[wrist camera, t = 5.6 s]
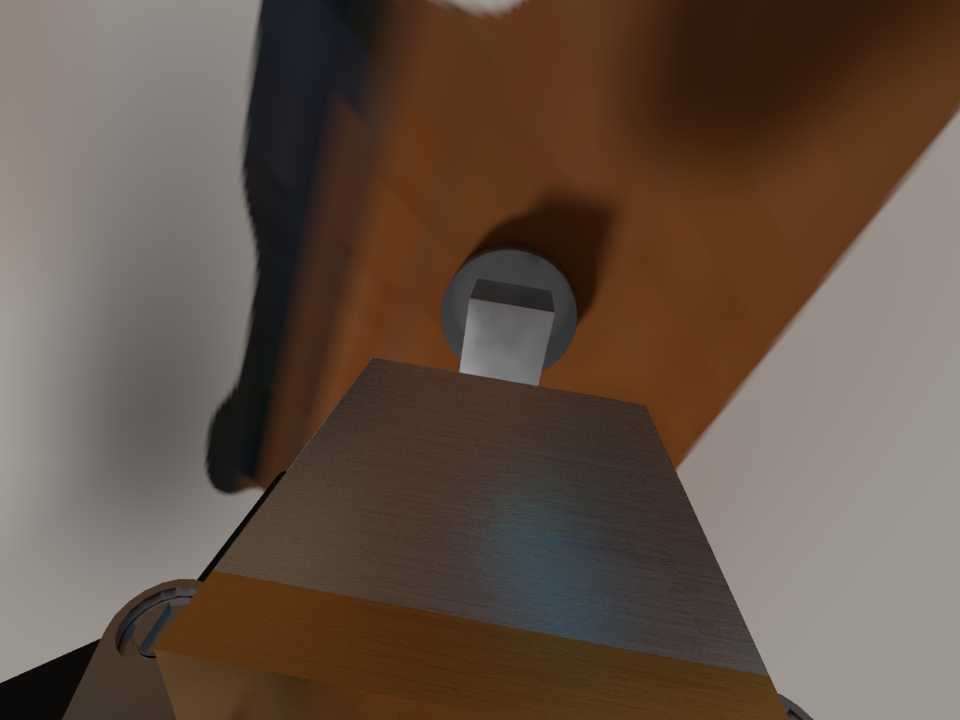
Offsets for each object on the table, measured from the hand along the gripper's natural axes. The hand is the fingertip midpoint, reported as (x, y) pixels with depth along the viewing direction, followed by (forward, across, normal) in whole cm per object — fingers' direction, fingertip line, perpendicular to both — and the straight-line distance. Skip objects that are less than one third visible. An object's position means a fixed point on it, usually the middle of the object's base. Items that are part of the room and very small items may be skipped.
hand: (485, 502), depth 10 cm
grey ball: (+14, 0, 0) cm, 14 cm away
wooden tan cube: (+1, 0, 0) cm, 1 cm away
